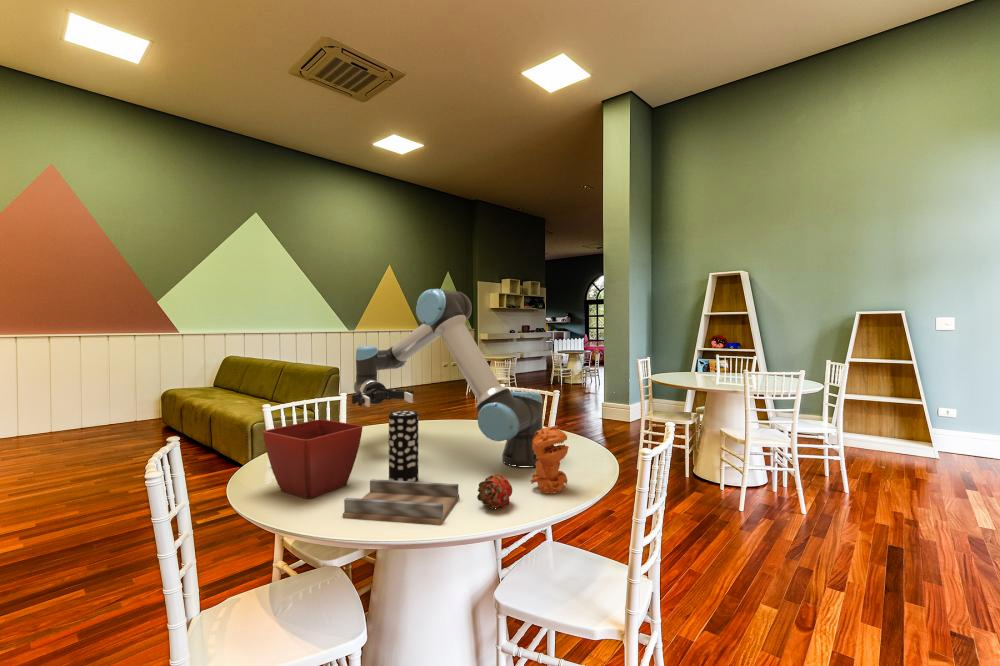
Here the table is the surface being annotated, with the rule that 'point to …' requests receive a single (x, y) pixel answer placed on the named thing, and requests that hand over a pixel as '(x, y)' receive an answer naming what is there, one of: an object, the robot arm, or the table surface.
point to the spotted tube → (403, 446)
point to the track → (404, 502)
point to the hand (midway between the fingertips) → (390, 400)
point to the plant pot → (312, 455)
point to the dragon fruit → (494, 491)
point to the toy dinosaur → (549, 459)
